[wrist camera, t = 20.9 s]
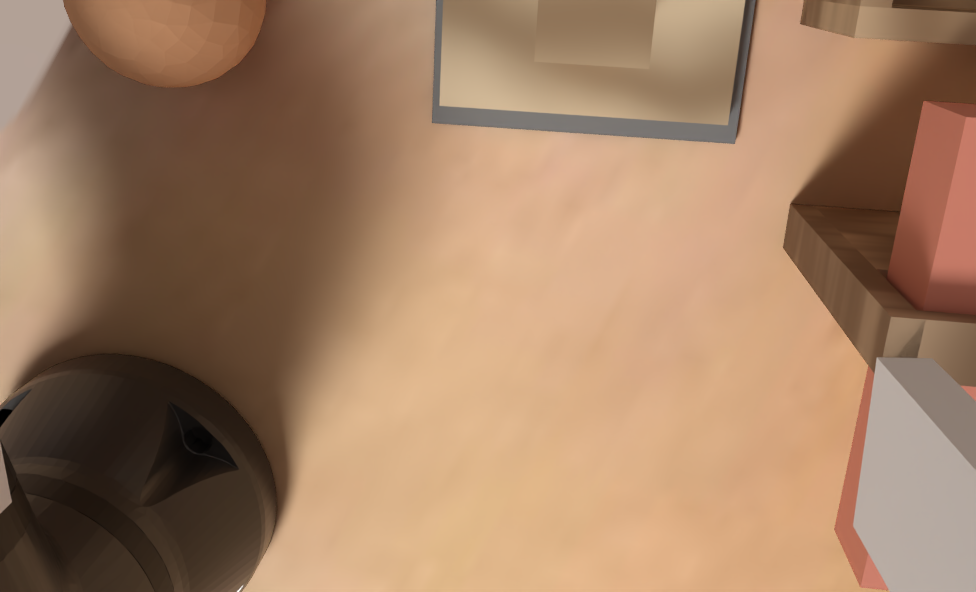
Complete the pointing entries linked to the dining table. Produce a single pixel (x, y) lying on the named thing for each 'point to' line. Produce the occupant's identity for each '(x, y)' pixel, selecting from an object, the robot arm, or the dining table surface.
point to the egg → (168, 36)
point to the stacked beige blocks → (593, 57)
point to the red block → (924, 268)
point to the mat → (594, 122)
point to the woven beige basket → (880, 213)
